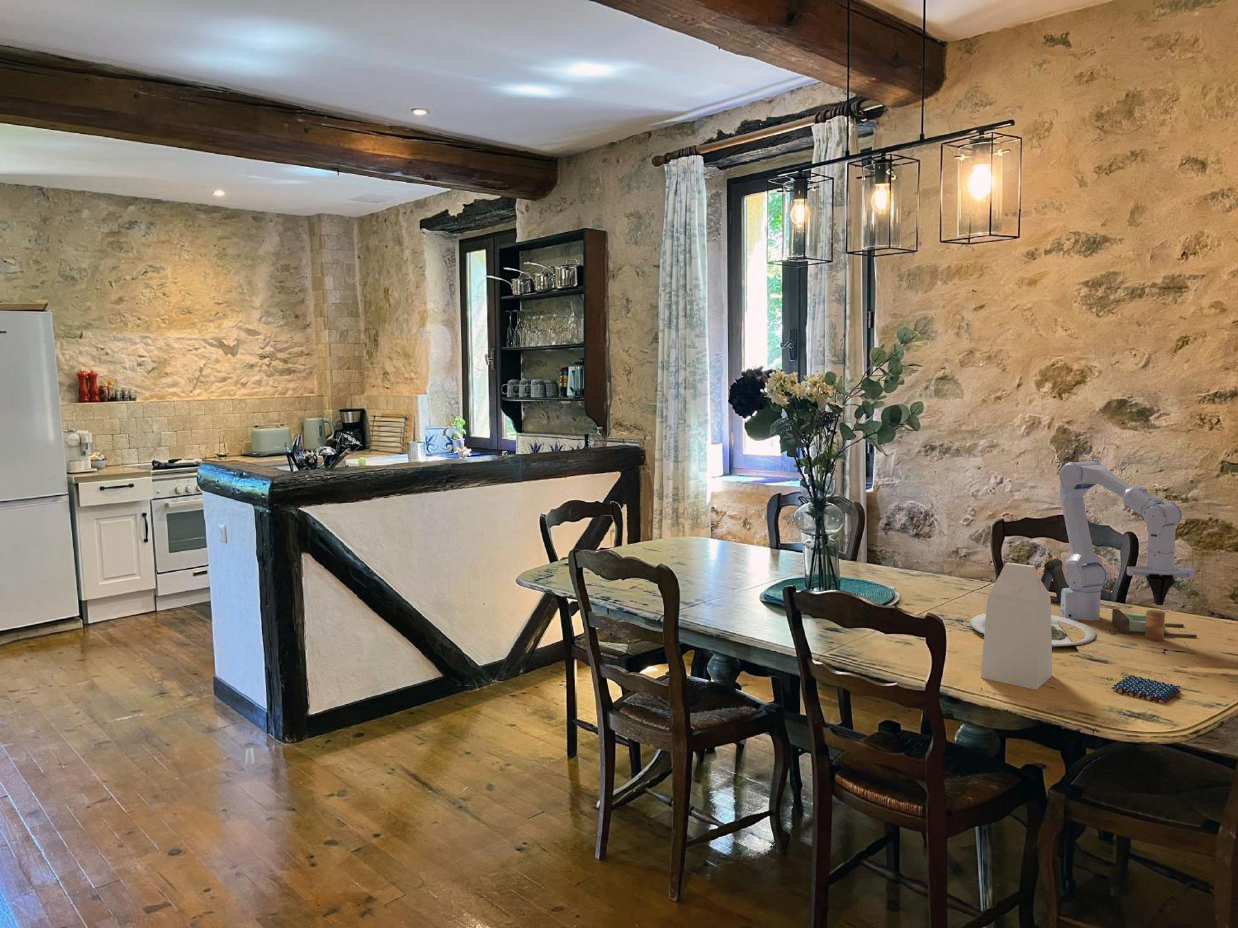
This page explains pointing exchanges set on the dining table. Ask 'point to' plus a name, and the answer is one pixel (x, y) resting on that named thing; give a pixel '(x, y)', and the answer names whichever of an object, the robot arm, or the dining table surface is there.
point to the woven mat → (1146, 688)
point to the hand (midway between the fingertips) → (1158, 604)
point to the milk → (1018, 629)
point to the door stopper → (1054, 578)
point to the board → (1123, 626)
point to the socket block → (1137, 622)
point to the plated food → (1056, 630)
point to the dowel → (1155, 625)
